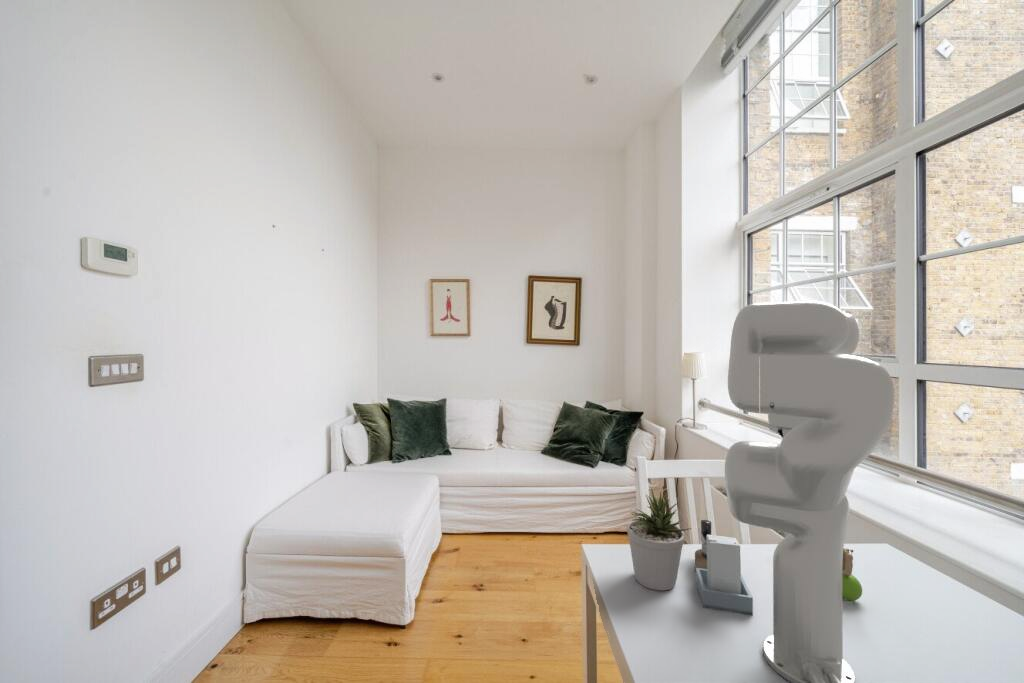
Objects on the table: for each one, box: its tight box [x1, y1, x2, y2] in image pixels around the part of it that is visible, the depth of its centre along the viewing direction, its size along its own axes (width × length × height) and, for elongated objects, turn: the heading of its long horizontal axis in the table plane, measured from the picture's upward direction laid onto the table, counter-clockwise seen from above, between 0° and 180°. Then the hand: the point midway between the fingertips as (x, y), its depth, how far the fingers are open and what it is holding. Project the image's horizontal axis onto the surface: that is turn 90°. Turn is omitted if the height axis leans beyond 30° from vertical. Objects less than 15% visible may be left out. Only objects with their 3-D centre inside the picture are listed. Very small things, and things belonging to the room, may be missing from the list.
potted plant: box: [626, 487, 692, 591], centre depth 95 cm, size 13×14×20 cm
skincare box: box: [706, 534, 742, 594], centre depth 88 cm, size 6×4×12 cm
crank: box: [700, 519, 712, 558], centre depth 101 cm, size 11×5×5 cm, turn 167°
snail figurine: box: [842, 547, 863, 602], centre depth 89 cm, size 5×6×12 cm
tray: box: [695, 568, 754, 616], centre depth 89 cm, size 9×9×4 cm
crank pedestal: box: [694, 548, 707, 573], centre depth 99 cm, size 9×8×4 cm
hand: (795, 461), depth 90 cm, fingers closed
